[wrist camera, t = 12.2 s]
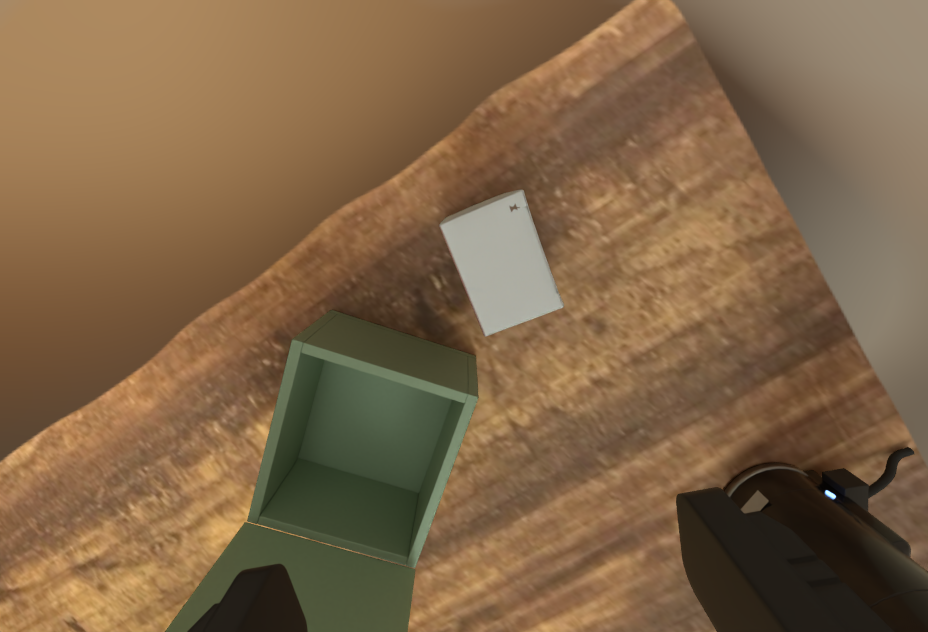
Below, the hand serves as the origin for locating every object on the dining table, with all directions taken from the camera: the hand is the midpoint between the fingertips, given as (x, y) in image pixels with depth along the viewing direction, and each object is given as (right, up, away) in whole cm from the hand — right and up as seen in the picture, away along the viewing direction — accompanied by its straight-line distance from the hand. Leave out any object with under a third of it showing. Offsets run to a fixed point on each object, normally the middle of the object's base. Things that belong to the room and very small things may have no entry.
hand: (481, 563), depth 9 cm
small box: (+2, +11, +28) cm, 30 cm away
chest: (-8, -4, +32) cm, 33 cm away
